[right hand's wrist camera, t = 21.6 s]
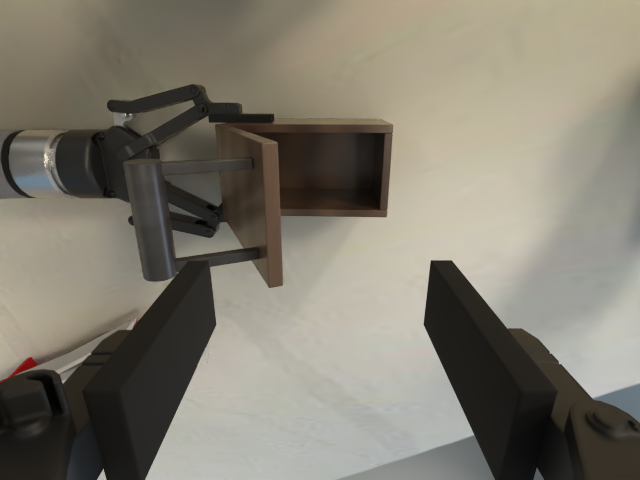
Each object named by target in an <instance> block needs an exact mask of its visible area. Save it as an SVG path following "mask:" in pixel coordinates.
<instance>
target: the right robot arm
mask: <svg viewBox="0 0 640 480" xmlns="http://www.w3.org/2000/svg"><path fill="white" fill-rule="evenodd" d="M215 326H216V318H215V309H214V300H213V291H212V282H211V273H210V265H209V261H188V262H187V263H186V264H185V265H184V266H183V268H182V269H181V270H180V271H179V273H178V274H177V275H176V276H175V277H174V279H173V280H172V281H171V282H170V284H169V285H168V286H167V287H166V289H165V290H164V291H163V292H162V293H161V295H160V296H159V297H158V298H157V300H156V301H155V302H154V303H153V304H152V306H151V307H150V308H149V309H148V311H147V312H146V313H145V314H144V315H143V317H142V318H141V319H140V320H139V322H138V323H137V324H136V325H135V326H134V328H133V329H132V330H118V331H116V332H114V333H113V334H111V335H110V336H108V337H107V338H105V339H103V340H102V341H101V342H100V343H99V344H98V345H97V347H96V348H95V349H94V350H93V351H92V352H91V355H88V357H87V358H86V359H85V360H84V361H83V362H82V365H81V366H78V368H77V369H76V370H75V371H74V372H73V373H72V374H71V375H70V376H69V378H68V379H67V380H66V381H65V382H64V383H62V380H61V377H60V374H58V373H57V372H55V371H54V370H47V369H39V370H32V371H27V372H24V373H21V374H18V375H15V376H12V377H10V378H8V379H6V380H4V381H2V382H0V480H97V478H98V477H99V475H100V473H101V472H102V470H103V468H104V472H105V475H106V479H107V480H145V478H146V476H147V474H148V472H149V470H150V467H151V465H152V463H153V461H154V459H155V457H156V454H157V452H158V450H159V448H160V446H161V443H162V441H163V439H164V437H165V435H166V433H167V430H168V428H169V426H170V424H171V422H172V420H173V417H174V415H175V413H176V411H177V409H178V407H179V404H180V402H181V400H182V398H183V396H184V394H185V391H186V389H187V387H188V385H189V383H190V380H191V378H192V376H193V374H194V372H195V370H196V367H197V365H198V363H199V361H200V359H201V357H202V354H203V352H204V350H205V348H206V346H207V344H208V341H209V339H210V337H211V335H212V333H213V331H214V328H215ZM424 326H425V328H426V331H427V333H428V335H429V337H430V339H431V341H432V344H433V346H434V348H435V350H436V352H437V354H438V357H439V359H440V361H441V363H442V365H443V367H444V370H445V372H446V374H447V376H448V378H449V380H450V383H451V385H452V387H453V389H454V391H455V394H456V396H457V398H458V400H459V402H460V404H461V407H462V409H463V411H464V413H465V415H466V417H467V420H468V422H469V424H470V426H471V428H472V430H473V433H474V435H475V437H476V439H477V441H478V443H479V446H480V448H481V450H482V452H483V454H484V457H485V459H486V461H487V463H488V465H489V467H490V470H491V472H492V474H493V476H494V478H495V480H533V479H534V475H535V471H536V468H538V470H539V471H540V473H541V475H542V476H543V478H544V480H640V423H639V422H638V421H637V420H635V419H634V418H633V417H632V416H631V415H629V414H628V413H626V412H624V411H622V410H621V409H619V408H617V407H615V406H613V405H610V404H607V403H604V402H601V401H596V400H593V399H592V398H591V397H590V396H589V394H588V393H587V392H586V391H585V390H584V389H583V388H582V387H581V386H580V385H579V383H578V382H577V381H576V380H575V379H574V378H573V377H572V376H571V375H570V374H569V372H568V371H567V370H566V369H565V368H564V367H563V366H562V365H561V364H559V361H558V360H557V359H556V358H555V357H554V356H553V355H552V354H550V353H549V350H548V349H547V348H546V347H545V346H544V345H543V344H542V343H541V342H540V341H539V339H537V338H536V337H534V336H532V335H531V334H529V333H528V332H526V331H525V330H523V329H507V328H506V327H505V325H504V324H503V323H502V322H501V320H500V319H499V318H498V317H497V315H496V314H495V313H494V312H493V311H492V309H491V308H490V307H489V306H488V304H487V303H486V302H485V301H484V300H483V298H482V297H481V296H480V295H479V293H478V292H477V291H476V290H475V289H474V287H473V286H472V285H471V284H470V282H469V281H468V280H467V279H466V277H465V276H464V275H463V274H462V273H461V271H460V270H459V269H458V268H457V266H456V265H455V264H454V263H453V262H452V261H431V264H430V273H429V282H428V291H427V300H426V309H425V318H424Z"/></svg>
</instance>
